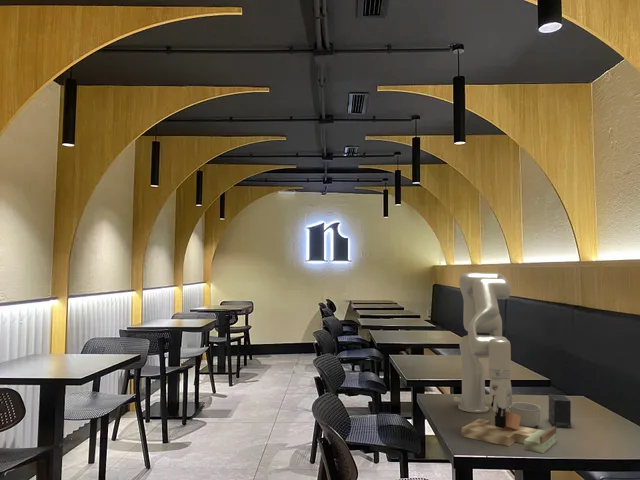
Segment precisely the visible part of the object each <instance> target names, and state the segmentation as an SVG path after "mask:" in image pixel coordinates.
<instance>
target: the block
mask: <svg viewBox="0 0 640 480" xmlns="http://www.w3.org/2000/svg"><path fill="white" fill-rule="evenodd" d="M504 416H506V427H507V428H511V429H515V430H518V429H519V423H520V417H521V416H520V415H517V414H514V413H511V412H510V411H506V415H504Z"/></svg>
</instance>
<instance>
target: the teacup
mask: <svg viewBox="0 0 640 480" xmlns="http://www.w3.org/2000/svg"><path fill="white" fill-rule="evenodd" d="M506 409H508V410H509V412H511V413H514V414H517V415H520V416H521V417H520V423H519V426H522V427H528V428H533V429H535V427H536V426H538V425H539V424H540V419H541V406H539V405H538V404H535V403H533V402H532V403H531V402H524V401H514V402H513V401H512V405H511V406H509V407H507V408H506Z"/></svg>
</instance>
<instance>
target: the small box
mask: <svg viewBox="0 0 640 480" xmlns="http://www.w3.org/2000/svg"><path fill="white" fill-rule="evenodd" d="M571 404H572V402H571V400H570V399H569V398H568V397H567V396H565V394H563V395H561V394H551V393H549V394H548V422H549V423H550V424H551V425H552V427H553V426H554V427H556V428H562V429H563V428H565V429H571V428H572V425H571V424H572V422H571V421H572V419H571V417H572V414H571V411H572V410H571V408H572V405H571Z"/></svg>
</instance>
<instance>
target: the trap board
mask: <svg viewBox="0 0 640 480" xmlns="http://www.w3.org/2000/svg"><path fill="white" fill-rule="evenodd" d="M462 437H464V438H469V439H472V440H476V441H477V440H478V441H483V442H488V443H492V444H497V445H503V446H507V447H510V446H512V445H513V444H514V443H519V444H522V445H523V448H524V450H525V451H531V452H536V453H541V454H544V453H545V452H547V451H548V450H549V449H550V448H551V447H552V446H553V445H555V443H557V441H558V440H557V427H554V426H553V425H552V427H550V428H549V429H548V430H543V429H538V428H528V427H522V426H519V429H518V430H515V429H511V428H507V427H504V428H499V427H496V426H495V425H491V424H490V420H488V419H483V418H478V419H475V420H473V421H472V422H470V423H468V424H466V425H465V426H462V427H461V438H462Z"/></svg>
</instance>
